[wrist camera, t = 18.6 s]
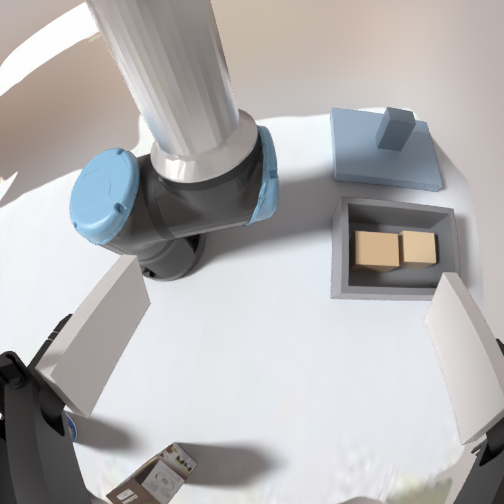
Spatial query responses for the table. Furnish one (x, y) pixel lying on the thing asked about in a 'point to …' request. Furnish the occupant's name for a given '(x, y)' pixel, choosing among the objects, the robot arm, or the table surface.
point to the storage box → (391, 249)
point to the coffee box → (155, 479)
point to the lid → (383, 149)
